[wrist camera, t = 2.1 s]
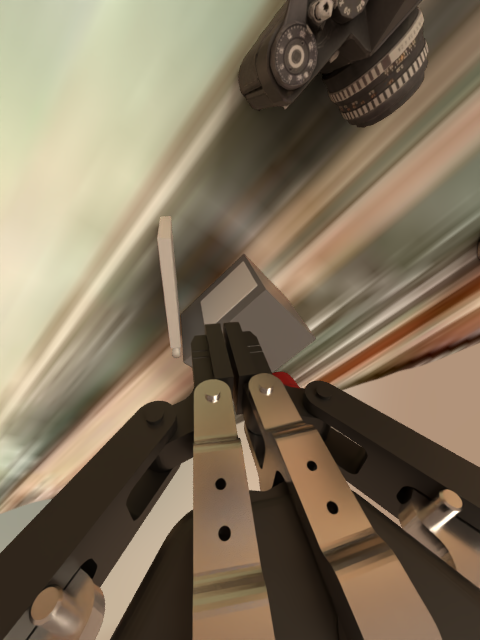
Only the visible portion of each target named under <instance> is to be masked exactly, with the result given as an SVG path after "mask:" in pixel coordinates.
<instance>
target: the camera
mask: <svg viewBox="0 0 480 640" xmlns="http://www.w3.org/2000/svg"><path fill="white" fill-rule="evenodd" d="M421 1H422V0H287V1H286V2H285V3H284V5H283V6H282V7H281V9H280V10H279V11H278V12H277V14H276V15H275V16H274V18H273V19H272V21H271V22H270V23H269V25H268V26H267V27H266V29H265V30H264V31H263V32H262V34H261V35H260V36H259V38H258V40H257V41H256V43H255V44H254V45H253V47H252V48H251V50H250V51H249V52H248V54H247V55H246V56H245V58H244V59H243V62H242V64H241V66H240V70H239V85H240V89H241V93H242V94H243V96H244V97H245V98H246V100H247V101H248V103H249V104H250V106H251V107H252V108H254V109H256V110H258V111H260V110H261V109H266V108H269V107H275V106H280V107H281V106H283V107H284V109H286V108H287V107H288V106H289V105H290V104H291V103H293V102H294V101H295V99H296V98H297V97H298V96H299V95H300V94H301V92H302V91H303V90H304V89H305V88H306V87H307V85H308V84H309V83H310V82H311V81H312V80H313V78H314V77H315V76H316V75H317V74H318V73H319V72H321V73H323V76H322V79H323V81H324V83H325V85H326V87H327V89H328V95H329V97H330V99H331V101H333V102H335V104H337V105H338V107H339V109H340V112H341V114H342V116H343V118H344V119H347V120H348V122H349V123H350V124H352V125H357V127H366V126H370V125H373V124H375V123H377V122H379V121H381V120H382V119H384V118H385V117H387V116H389V115H390V114H392V113H393V112H394V111H395V110H397V109H398V108H399V107H401V106H402V105H403V104H404V103H405V102H406V101H407V100H408V99H409V98H410V97H411V96H412V95H413V94H414V93H415V92H416V90H417V89H418V88H419V87H420V85H421V83H422V82H423V80H424V71H425V69H426V67H427V64H428V60H427V57H426V56H427V54H428V46H427V42H426V40H425V38H424V37H423V26H422V24H423V22H424V18H423V15H422V12H421V8H419V7H417V5H418V4H419V3H420V2H421Z"/></svg>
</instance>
